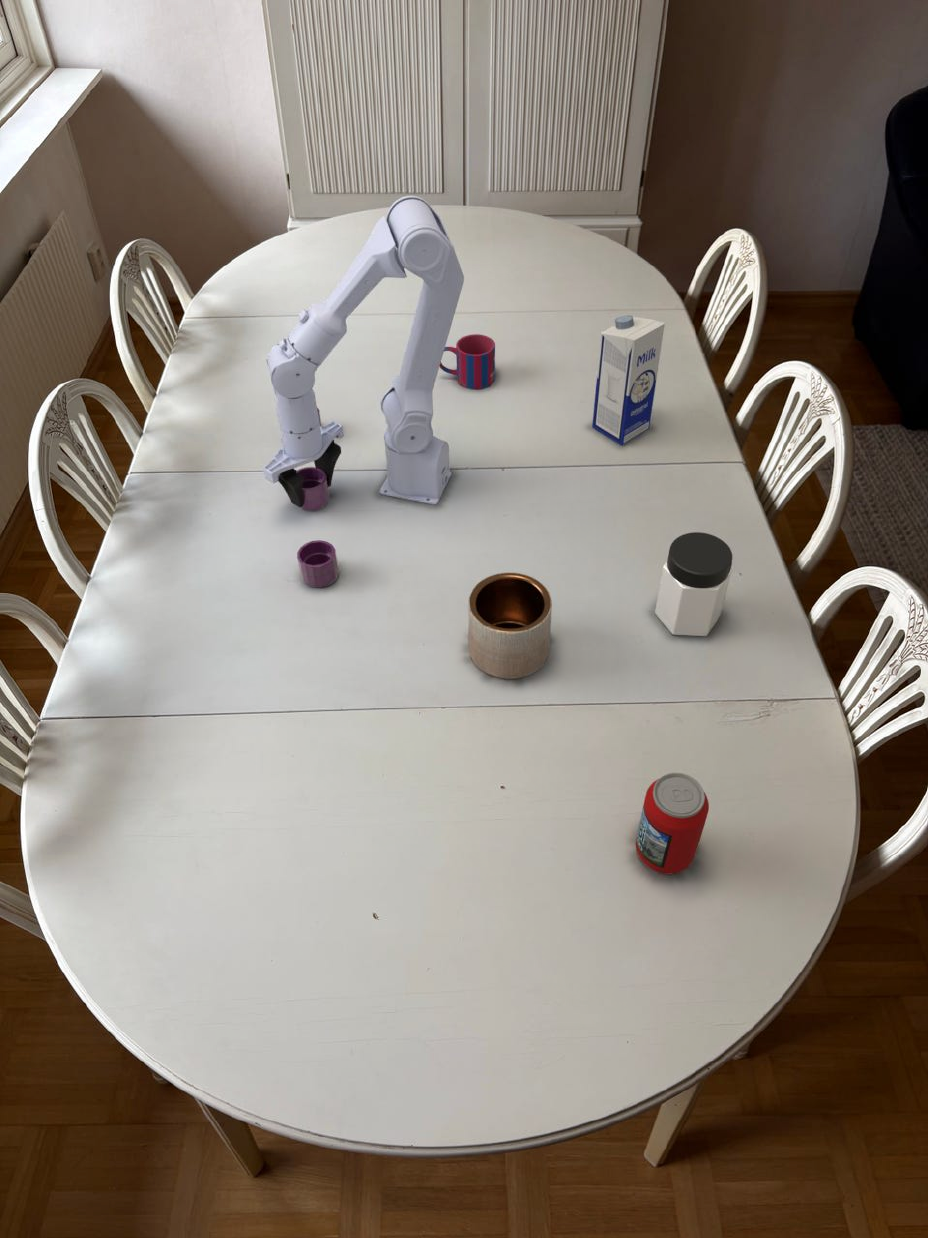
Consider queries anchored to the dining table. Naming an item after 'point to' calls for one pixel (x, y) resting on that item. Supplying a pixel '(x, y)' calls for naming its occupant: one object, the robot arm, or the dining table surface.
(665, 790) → the beverage can
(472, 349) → the mug
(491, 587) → the planter
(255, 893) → the dining table surface
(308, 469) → the dish
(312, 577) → the purple small cup
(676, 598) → the jar
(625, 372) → the milk carton
